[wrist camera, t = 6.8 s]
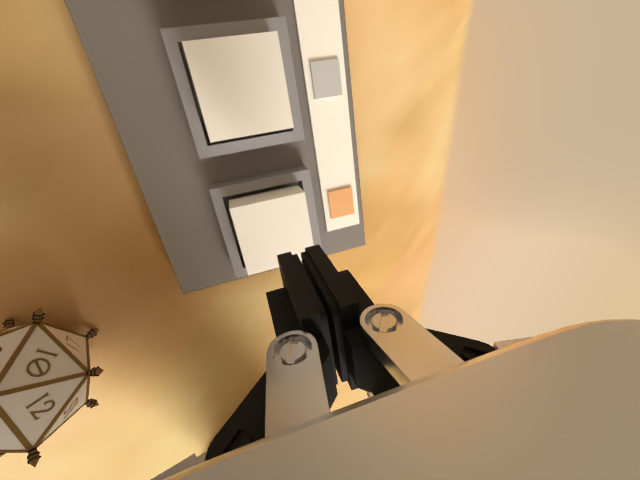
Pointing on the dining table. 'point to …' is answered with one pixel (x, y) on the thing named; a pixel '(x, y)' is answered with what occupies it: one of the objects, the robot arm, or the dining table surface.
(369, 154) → the dining table surface
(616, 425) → the robot arm
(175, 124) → the button board
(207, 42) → the middle button
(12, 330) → the game die
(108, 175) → the dining table surface
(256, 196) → the button
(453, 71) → the dining table surface
